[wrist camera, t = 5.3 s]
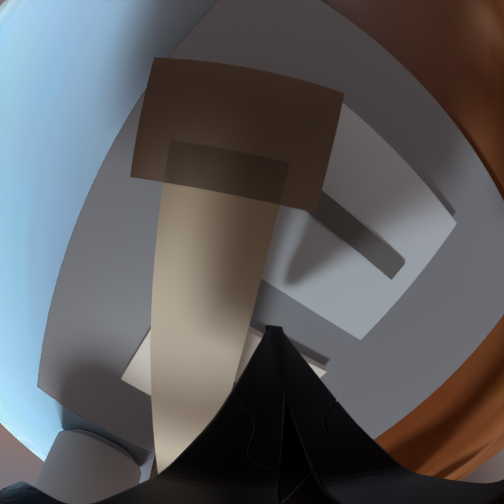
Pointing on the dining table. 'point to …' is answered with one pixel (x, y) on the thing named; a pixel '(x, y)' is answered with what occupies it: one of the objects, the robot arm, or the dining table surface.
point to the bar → (219, 219)
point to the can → (86, 468)
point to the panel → (301, 239)
